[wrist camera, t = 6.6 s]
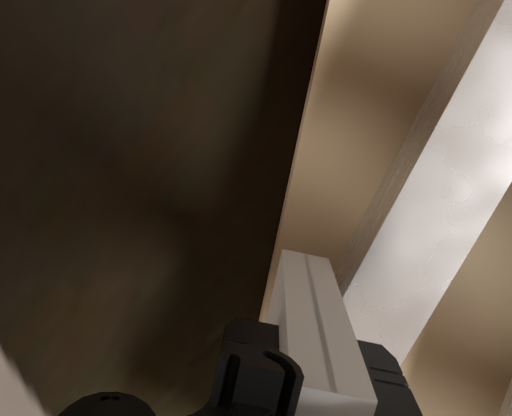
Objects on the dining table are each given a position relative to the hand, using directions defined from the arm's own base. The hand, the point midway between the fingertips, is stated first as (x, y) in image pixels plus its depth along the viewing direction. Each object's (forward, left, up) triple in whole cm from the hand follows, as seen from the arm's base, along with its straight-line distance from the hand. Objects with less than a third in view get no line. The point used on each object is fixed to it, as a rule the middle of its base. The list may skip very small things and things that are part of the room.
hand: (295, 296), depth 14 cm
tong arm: (-2, +3, -1) cm, 3 cm away
